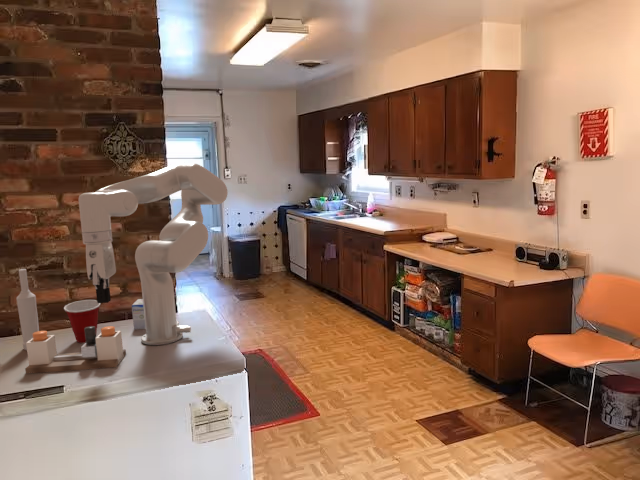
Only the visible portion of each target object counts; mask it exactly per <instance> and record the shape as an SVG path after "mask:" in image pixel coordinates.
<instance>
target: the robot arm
mask: <svg viewBox="0 0 640 480" xmlns="http://www.w3.org/2000/svg"><path fill="white" fill-rule="evenodd" d="M177 192H180V194H181V195H180V196H181V197H180V198H181V208H180V210H179V212H178V213H177V214H176V215H175V216H174V217H173V218H172V219H170V221H169V222H168V223H167V224H165V225H164V227H163V228H162V230H160V233H159V236H158V238H159V240H153V239H152V240H146V241H144V242H142V243H140V244H139V245H138V246H137V248H136V249H135V252H134V253H135V254H134V260H135V264H136V267H137V271H138V274H139V280H140V283H141V287H140V288H141V294H142V295H141V296H142V299H143V307H144V317H145V327H146V329H145V334H143V335H142V336H141V342H142V344H144V345H147V346H148V345H149V346H160V345H167V344H171V343H175V342H177V341H179V340H181V339H183V333H184V334H188V333H189V334H190V333H191V332H192V327H191V325H190V326H189V325H188V324H186V325H181V324H180V321H178V320H177V313H176V301H175V290H174V282H173V278H172V275H171V274H170V273H172V274H173V273H174V274H177V273H181V272H183V271H185V270H186V269H187V268H188V267H190V265H191V264H192V263H193V262H194V261H195V260H196V258H197V257H198V256H199V255H200V254H201V253H202V252H203V251H204V249H205V248H206V246H207V244H208V241H209V231H208V229H207V226H206V225H205V224H204V216H203V212H202V208H201V206H202V205H204V206H205V205H206V206H208V205H209V206H210V205H211V206H212V205H221V204H222V203H224V202H225V201H226V200H227V198H228V192H229V191H228V187H227V186H226V183H225V182H224V181H223V180H222V179H221V178H220V177H218V176H217V175H216V174H214V173H212V171H210V170H209V169H207V168H205V167H204V166H202V165H200V164H198V163H175V164H172V165H171V164H170V165H168V166H165V167H163V168H161V169H158V170H156V171H153V172H150V173H148V174H145V175H142V176H138V177H137V176H136V177H134V178H131V179H127V180H123V181H120V182H116V183H113V184H110V185H107V186H105V187H102V188H100V189H97V190H96V191H95V192H94V191H92V192H91V191H90V192H84V193H80V194H79V196H78V208H79V216H80V217H79V218H80V227H81V236H82V244H83V245H85V262H86V264H85V265H86V272H87V273H86V274H87V278H88V280H90V281H92V285H93V286H94V287H95V293H96V295H95V296H96V301H97V303H101V304H103V303H104V304H108V303H109V302H111V291H110V290H111V288H110V278H111V277H112V276H114V275H115V274H116V273H117V266H116V259H115V254H114V252H115V251H114V247H113V244H112V242H113V233H112V232H113V231H112V220H111V217H127V216H130V215H132V214H134V213H135V212H136V211H137V208H138V205H139V204H149V203H153V202H158V201H161V200H162V199H164V198H166V197H168V196H170V195H171V196H172V195H174V194H175V193H177Z"/></svg>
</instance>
